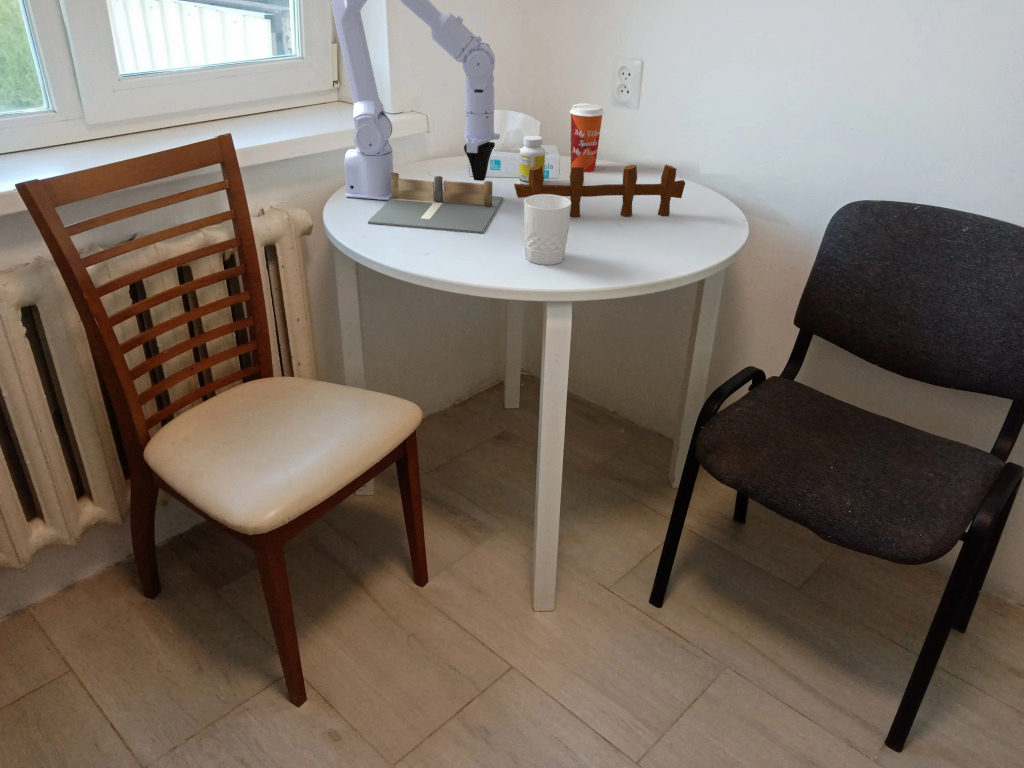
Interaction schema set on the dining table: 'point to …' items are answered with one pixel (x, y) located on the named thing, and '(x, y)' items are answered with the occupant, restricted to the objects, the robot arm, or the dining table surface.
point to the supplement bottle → (531, 157)
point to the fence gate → (468, 192)
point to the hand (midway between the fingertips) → (479, 179)
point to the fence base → (417, 189)
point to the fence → (606, 188)
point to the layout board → (436, 215)
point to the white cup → (546, 228)
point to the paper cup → (585, 135)
